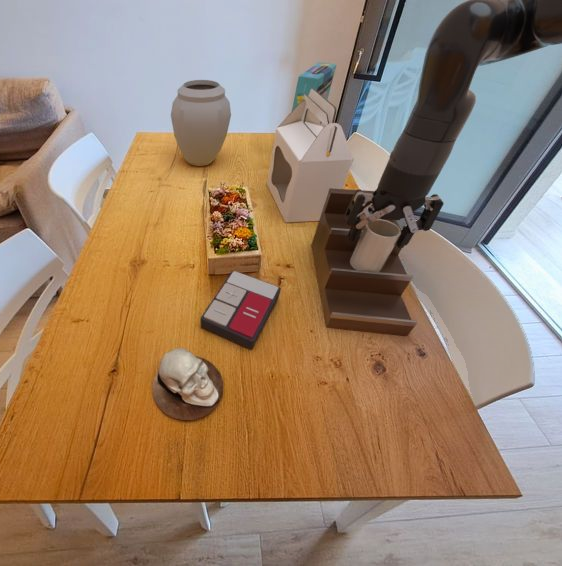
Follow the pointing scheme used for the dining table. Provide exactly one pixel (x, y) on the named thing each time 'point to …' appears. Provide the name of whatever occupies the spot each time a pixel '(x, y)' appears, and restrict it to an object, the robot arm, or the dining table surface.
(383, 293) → the shelf rack
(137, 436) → the dining table surface
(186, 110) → the vase
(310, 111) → the gable box
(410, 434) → the dining table surface
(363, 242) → the cup
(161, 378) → the skull
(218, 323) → the calculator
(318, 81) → the game box
